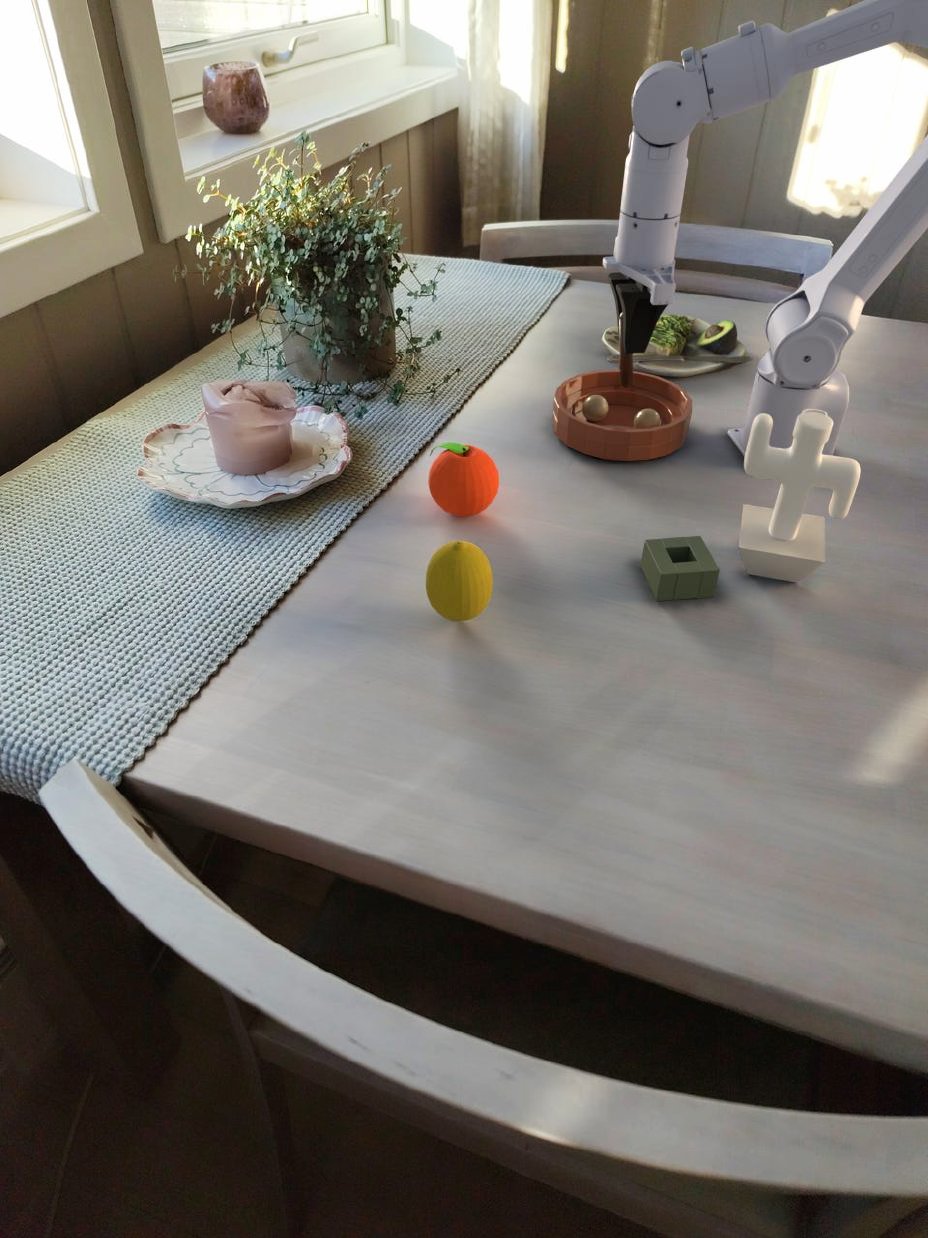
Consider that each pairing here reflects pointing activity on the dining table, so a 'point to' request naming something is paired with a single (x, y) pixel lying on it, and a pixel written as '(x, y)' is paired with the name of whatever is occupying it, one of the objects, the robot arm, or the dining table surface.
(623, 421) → the bowl
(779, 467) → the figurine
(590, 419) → the bead
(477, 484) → the clementine
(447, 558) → the lemon
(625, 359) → the stick
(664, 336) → the salad plate
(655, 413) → the bead
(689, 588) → the holder
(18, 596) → the dining table surface
